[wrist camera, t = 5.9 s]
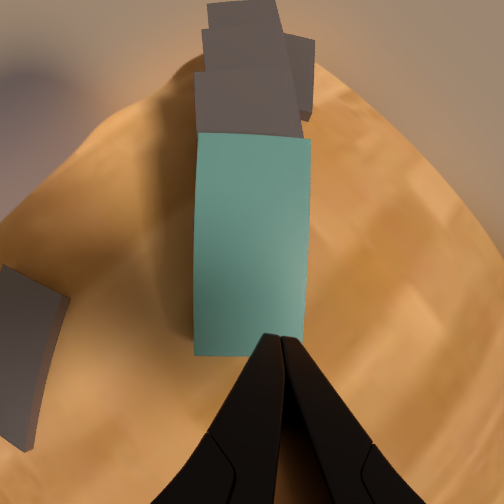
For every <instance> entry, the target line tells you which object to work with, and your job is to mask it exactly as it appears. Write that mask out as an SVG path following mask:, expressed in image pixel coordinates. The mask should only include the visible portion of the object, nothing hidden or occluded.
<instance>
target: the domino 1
mask: <svg viewBox="0 0 504 504" xmlns="http://www.w3.org/2000/svg"><path fill="white" fill-rule="evenodd" d="M69 302H70V298H68V297H66V296H64V295H62V294H60V293H58V292H56V291H54V290H52V289H50V288H48V287H46V286H44V285H42V284H40V283H38V282H36V281H34V280H32V279H30V278H28V277H27V276H25V275H23V274H21V273H19V272H17V271H16V270H14V269H12V268H10V267H8V266H6V265H4V264H3V266H2V269H1V272H0V436H2V437H3V438H4V439H6V440H7V441H8V442H10V443H11V444H13V445H14V446H15V447H17V448H18V449H20V450H21V451H23V452H24V453H25V452H27V451H29V450H32V449H33V448H34V441H35V434H36V428H37V422H38V417H39V412H40V407H41V402H42V397H43V392H44V388H45V384H46V379H47V375H48V371H49V367H50V364H51V360H52V356H53V353H54V349H55V346H56V342H57V339H58V335H59V332H60V329H61V326H62V323H63V320H64V317H65V314H66V311H67V308H68V305H69Z"/></svg>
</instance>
